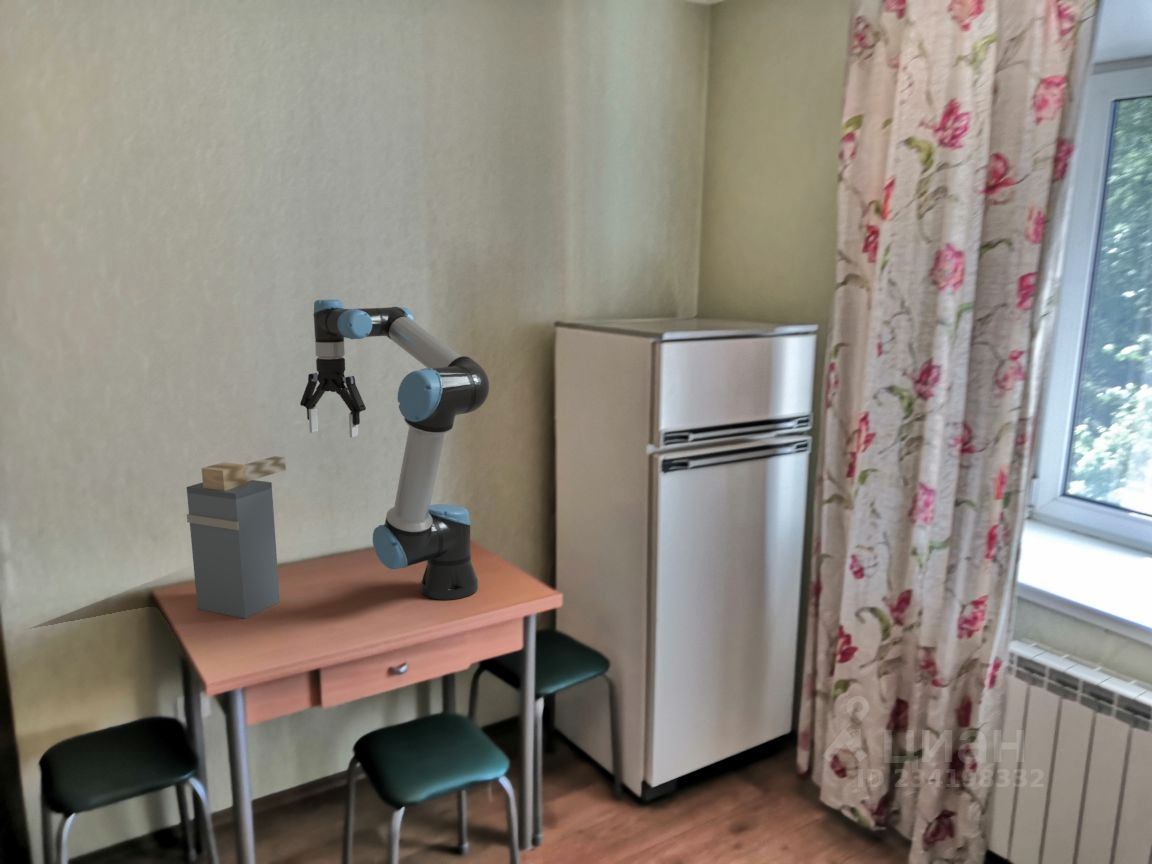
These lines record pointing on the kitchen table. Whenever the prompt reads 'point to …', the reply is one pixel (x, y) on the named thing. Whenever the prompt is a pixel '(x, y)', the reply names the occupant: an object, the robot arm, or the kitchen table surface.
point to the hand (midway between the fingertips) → (333, 434)
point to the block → (239, 473)
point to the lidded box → (234, 548)
